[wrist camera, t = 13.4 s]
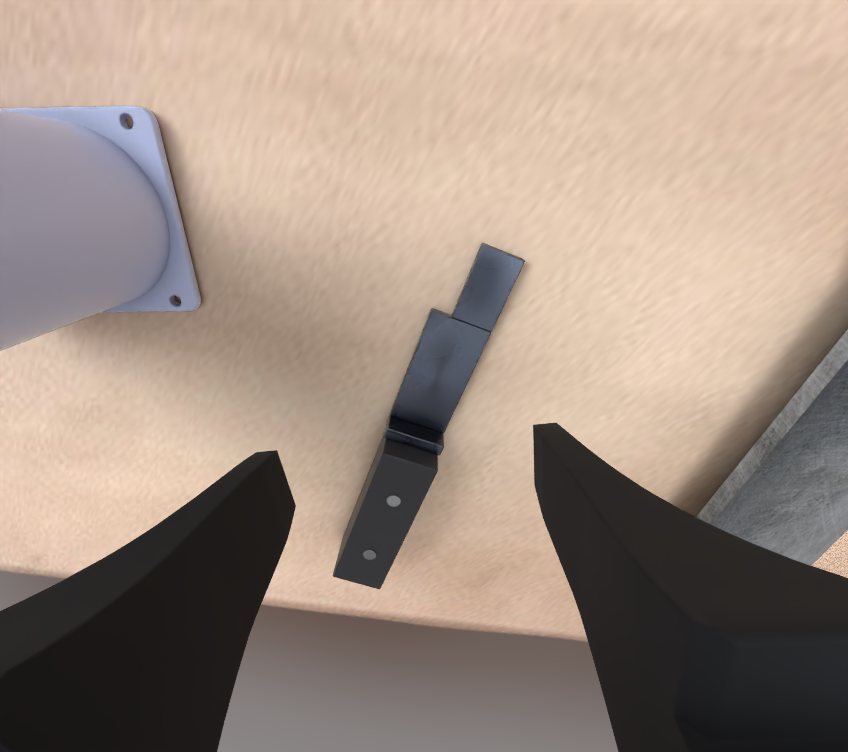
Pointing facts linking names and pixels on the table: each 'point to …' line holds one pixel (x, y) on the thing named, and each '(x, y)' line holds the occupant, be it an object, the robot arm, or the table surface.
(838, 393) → the meat cleaver
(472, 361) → the knife
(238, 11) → the table surface
